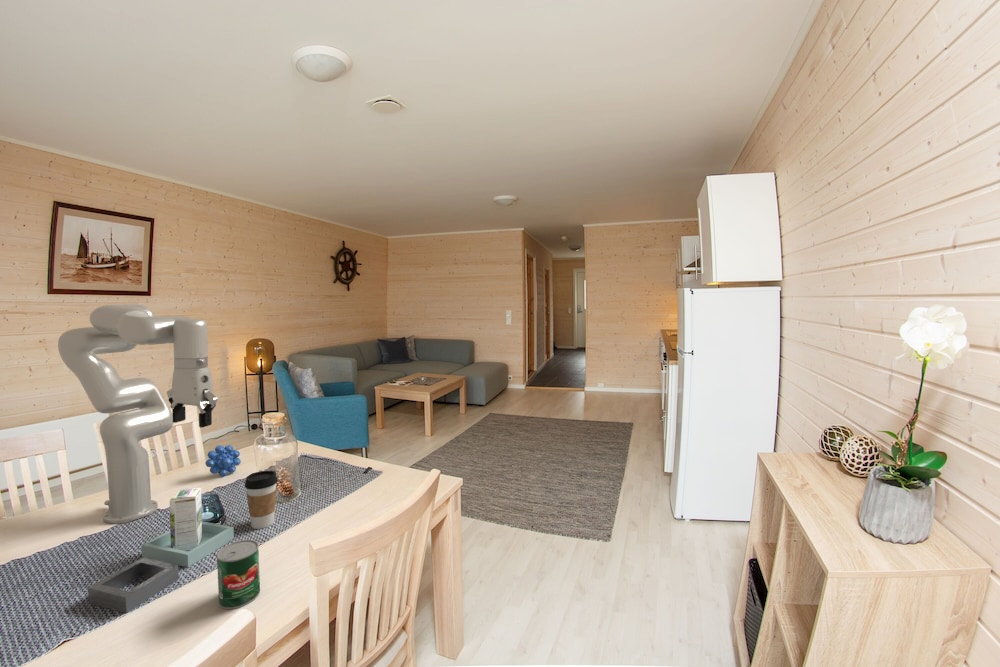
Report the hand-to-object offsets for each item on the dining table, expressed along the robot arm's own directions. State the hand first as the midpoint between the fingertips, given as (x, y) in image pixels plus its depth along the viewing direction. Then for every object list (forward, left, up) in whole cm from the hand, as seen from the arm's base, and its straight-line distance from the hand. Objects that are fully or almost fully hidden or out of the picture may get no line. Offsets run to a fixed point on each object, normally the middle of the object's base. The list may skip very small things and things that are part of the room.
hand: (192, 423), depth 116 cm
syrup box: (+6, -8, -31) cm, 32 cm away
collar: (+10, -23, -31) cm, 40 cm away
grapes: (-24, +31, -31) cm, 50 cm away
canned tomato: (+34, -18, -31) cm, 50 cm away
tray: (+6, -7, -31) cm, 32 cm away
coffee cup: (+15, +8, -31) cm, 36 cm away
